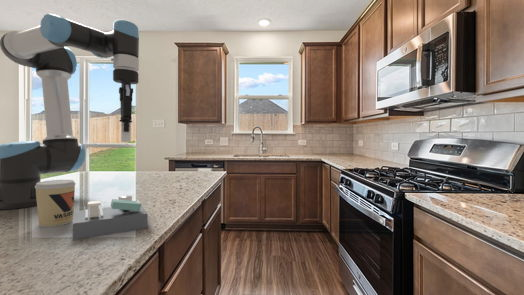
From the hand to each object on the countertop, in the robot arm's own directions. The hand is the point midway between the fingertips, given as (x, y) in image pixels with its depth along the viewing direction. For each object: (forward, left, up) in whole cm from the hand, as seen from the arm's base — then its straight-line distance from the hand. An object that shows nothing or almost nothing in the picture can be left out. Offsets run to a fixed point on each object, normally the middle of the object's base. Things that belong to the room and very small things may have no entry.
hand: (125, 141), depth 89 cm
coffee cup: (+2, -19, -24) cm, 30 cm away
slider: (+17, -9, -19) cm, 28 cm away
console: (+14, -5, -24) cm, 28 cm away
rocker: (+17, -2, -17) cm, 25 cm away
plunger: (+11, -1, -19) cm, 22 cm away
